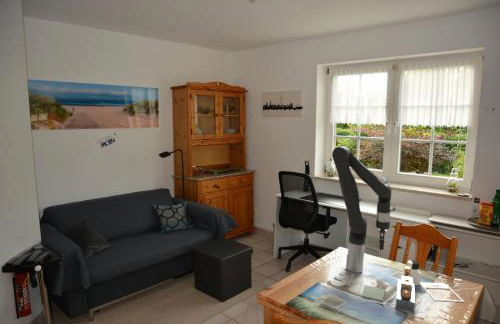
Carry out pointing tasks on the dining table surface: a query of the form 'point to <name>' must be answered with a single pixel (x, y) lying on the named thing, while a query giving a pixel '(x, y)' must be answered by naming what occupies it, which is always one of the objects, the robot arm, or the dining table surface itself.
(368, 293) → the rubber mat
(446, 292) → the dining table surface
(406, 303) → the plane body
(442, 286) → the photo frame
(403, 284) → the lever cap
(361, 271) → the robot arm
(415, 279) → the medicine bottle
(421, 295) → the dining table surface
